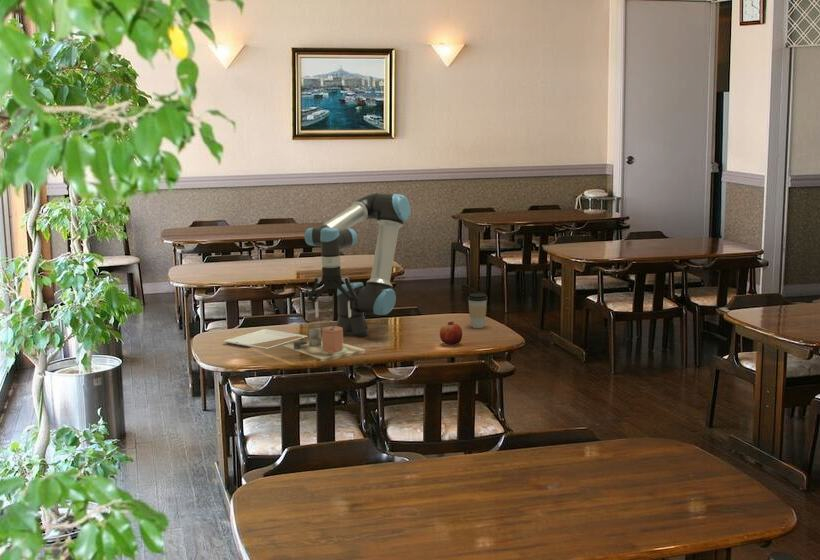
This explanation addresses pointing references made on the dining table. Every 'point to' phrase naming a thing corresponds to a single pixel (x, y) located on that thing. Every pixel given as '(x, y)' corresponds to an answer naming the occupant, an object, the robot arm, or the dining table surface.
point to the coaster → (335, 352)
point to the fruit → (451, 333)
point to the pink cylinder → (332, 339)
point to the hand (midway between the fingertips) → (333, 316)
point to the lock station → (321, 347)
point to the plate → (262, 338)
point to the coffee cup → (477, 309)
